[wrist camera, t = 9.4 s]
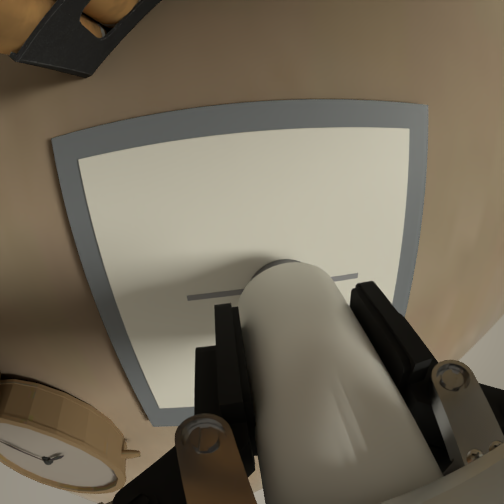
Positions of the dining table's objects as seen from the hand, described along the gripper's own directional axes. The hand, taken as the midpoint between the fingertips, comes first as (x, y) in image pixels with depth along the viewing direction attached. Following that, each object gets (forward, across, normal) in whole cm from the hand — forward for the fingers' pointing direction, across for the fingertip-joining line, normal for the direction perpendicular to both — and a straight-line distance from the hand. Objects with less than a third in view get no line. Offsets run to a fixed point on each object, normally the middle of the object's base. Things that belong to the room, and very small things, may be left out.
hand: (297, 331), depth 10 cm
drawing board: (+3, +1, +1) cm, 3 cm away
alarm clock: (+4, +18, +9) cm, 20 cm away
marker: (+3, 0, 0) cm, 3 cm away
